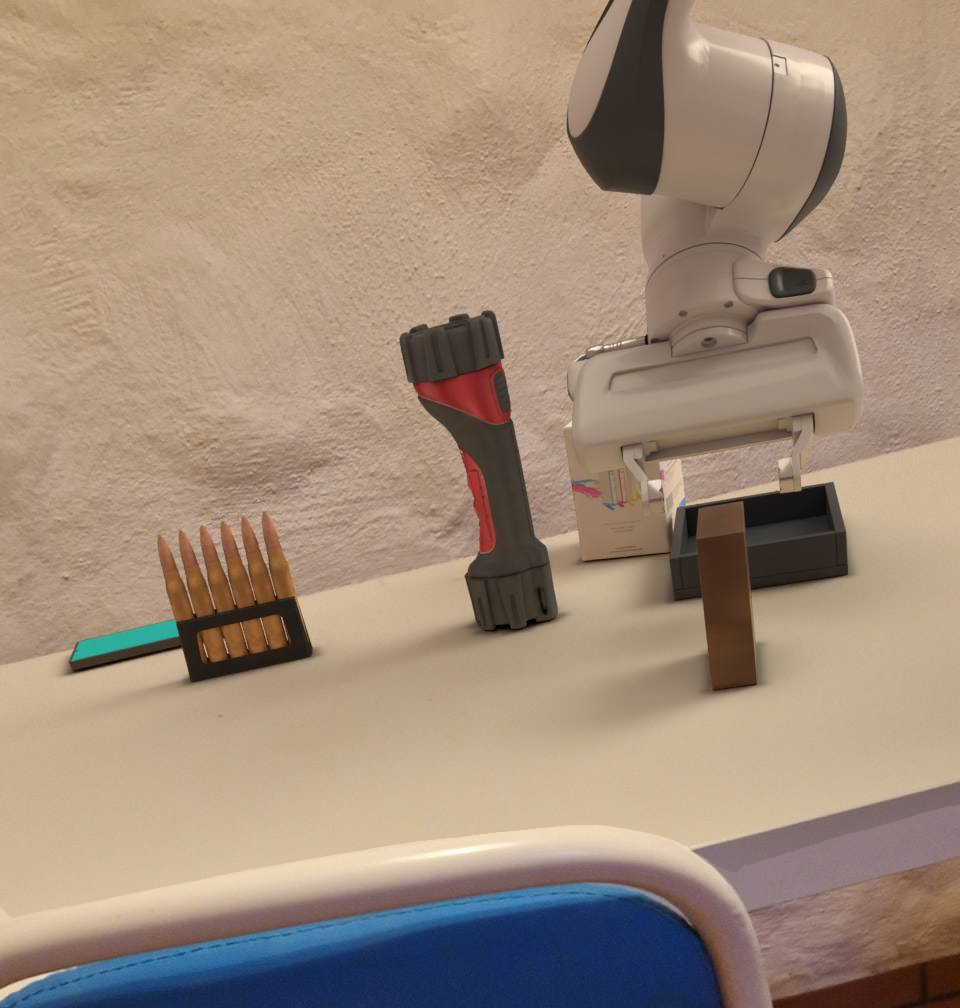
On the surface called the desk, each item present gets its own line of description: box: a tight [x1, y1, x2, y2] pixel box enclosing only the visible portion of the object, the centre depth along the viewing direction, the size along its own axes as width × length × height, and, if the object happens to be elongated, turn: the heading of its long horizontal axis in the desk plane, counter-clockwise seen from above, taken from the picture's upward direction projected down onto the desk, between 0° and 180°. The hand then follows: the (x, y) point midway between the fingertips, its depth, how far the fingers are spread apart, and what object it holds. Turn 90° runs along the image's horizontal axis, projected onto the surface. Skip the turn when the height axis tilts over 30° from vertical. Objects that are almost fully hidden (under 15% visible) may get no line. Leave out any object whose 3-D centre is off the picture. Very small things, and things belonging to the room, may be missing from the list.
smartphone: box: [68, 618, 223, 671], centre depth 132 cm, size 7×1×15 cm
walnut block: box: [696, 501, 758, 691], centre depth 94 cm, size 3×8×10 cm, turn 171°
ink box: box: [562, 420, 687, 562], centre depth 126 cm, size 9×8×13 cm
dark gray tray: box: [669, 481, 849, 601], centre depth 117 cm, size 14×17×3 cm
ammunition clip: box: [156, 510, 314, 682], centre depth 117 cm, size 11×2×12 cm, turn 94°
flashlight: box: [398, 309, 559, 631], centre depth 111 cm, size 8×8×23 cm
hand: (721, 499), depth 97 cm, fingers open, 8 cm apart
